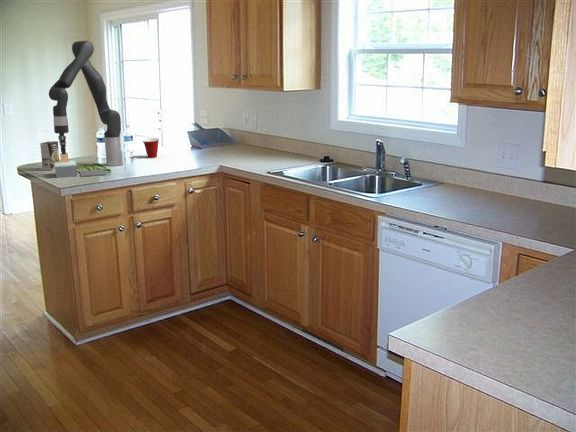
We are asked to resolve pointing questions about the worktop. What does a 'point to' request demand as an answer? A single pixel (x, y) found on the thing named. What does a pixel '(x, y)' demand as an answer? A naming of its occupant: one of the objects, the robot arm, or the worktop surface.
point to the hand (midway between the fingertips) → (63, 153)
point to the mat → (92, 173)
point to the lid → (64, 161)
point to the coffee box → (49, 155)
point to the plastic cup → (151, 147)
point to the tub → (66, 171)
